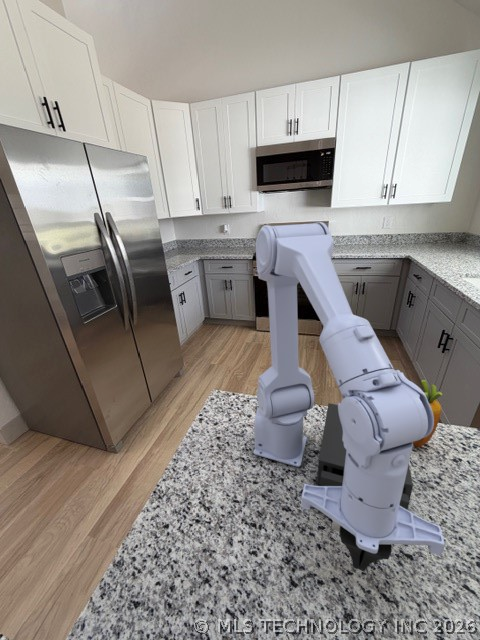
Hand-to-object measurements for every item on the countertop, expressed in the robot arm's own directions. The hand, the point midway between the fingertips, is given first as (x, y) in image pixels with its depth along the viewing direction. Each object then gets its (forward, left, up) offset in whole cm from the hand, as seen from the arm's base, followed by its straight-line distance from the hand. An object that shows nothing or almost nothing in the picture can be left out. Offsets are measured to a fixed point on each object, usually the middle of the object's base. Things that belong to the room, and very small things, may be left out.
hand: (358, 560), depth 35 cm
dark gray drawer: (0, +11, -3) cm, 11 cm away
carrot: (+11, +27, -4) cm, 30 cm away
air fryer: (0, +16, -4) cm, 16 cm away
